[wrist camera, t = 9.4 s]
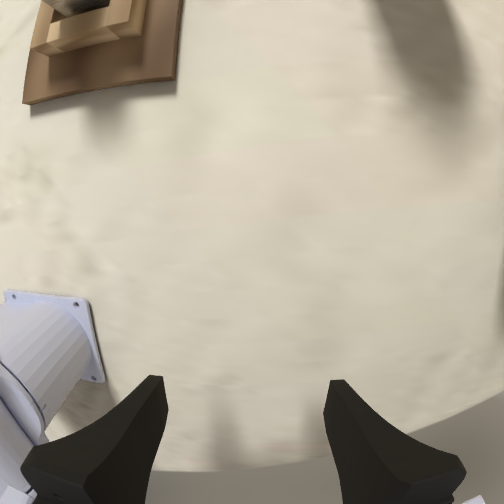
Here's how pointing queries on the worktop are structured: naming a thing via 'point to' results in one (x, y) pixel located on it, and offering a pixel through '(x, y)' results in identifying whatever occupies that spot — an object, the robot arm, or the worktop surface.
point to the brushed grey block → (76, 6)
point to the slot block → (102, 48)
